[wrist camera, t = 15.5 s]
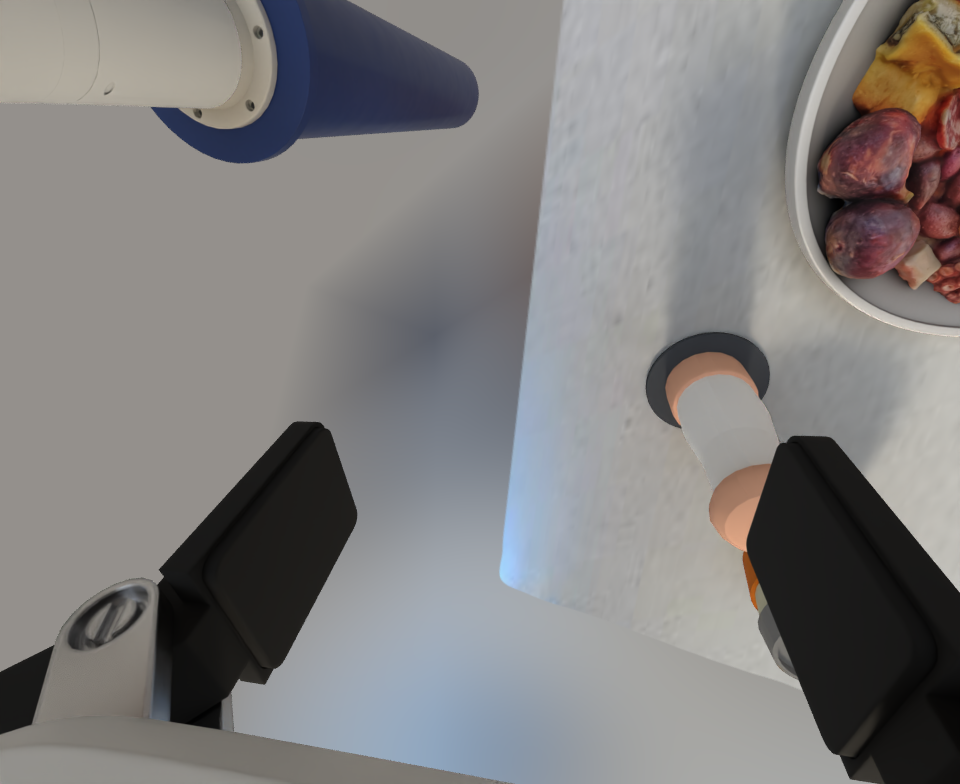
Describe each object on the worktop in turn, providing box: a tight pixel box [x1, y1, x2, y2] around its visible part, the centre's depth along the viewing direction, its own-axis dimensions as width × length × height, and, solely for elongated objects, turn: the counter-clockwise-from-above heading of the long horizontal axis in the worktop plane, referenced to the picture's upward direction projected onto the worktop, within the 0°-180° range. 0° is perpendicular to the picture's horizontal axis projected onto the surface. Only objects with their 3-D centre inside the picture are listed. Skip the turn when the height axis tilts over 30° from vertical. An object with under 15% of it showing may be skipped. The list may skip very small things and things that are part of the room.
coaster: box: [646, 332, 770, 429], centre depth 43 cm, size 11×11×1 cm
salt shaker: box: [665, 352, 780, 552], centre depth 35 cm, size 7×7×19 cm
